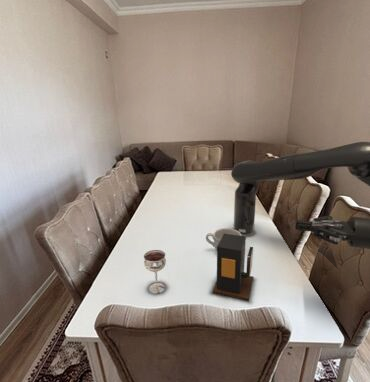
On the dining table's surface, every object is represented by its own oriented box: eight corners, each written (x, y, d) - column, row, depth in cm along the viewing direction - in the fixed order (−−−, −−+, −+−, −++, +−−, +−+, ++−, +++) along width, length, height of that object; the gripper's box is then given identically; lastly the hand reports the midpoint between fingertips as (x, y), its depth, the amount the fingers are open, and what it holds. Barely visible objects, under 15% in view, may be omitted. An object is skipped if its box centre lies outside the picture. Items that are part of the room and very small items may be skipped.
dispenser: (220, 273, 87) (221, 231, 82) (253, 279, 83) (256, 236, 78) (212, 293, 77) (212, 247, 72) (248, 301, 73) (251, 254, 69)
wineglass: (149, 298, 76) (146, 263, 73) (144, 285, 82) (141, 252, 79) (170, 291, 79) (168, 258, 75) (163, 279, 85) (161, 247, 81)
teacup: (243, 248, 103) (244, 230, 100) (237, 262, 93) (237, 242, 91) (211, 242, 108) (211, 225, 106) (202, 254, 99) (202, 236, 97)
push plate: (248, 266, 79) (249, 246, 77) (252, 266, 79) (253, 247, 77) (246, 277, 74) (247, 256, 72) (249, 277, 74) (250, 257, 72)
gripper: (367, 210, 66) (296, 203, 72) (384, 231, 54) (297, 221, 60) (362, 235, 68) (293, 227, 74) (377, 261, 57) (294, 248, 63)
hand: (295, 224), depth 67 cm, fingers closed
